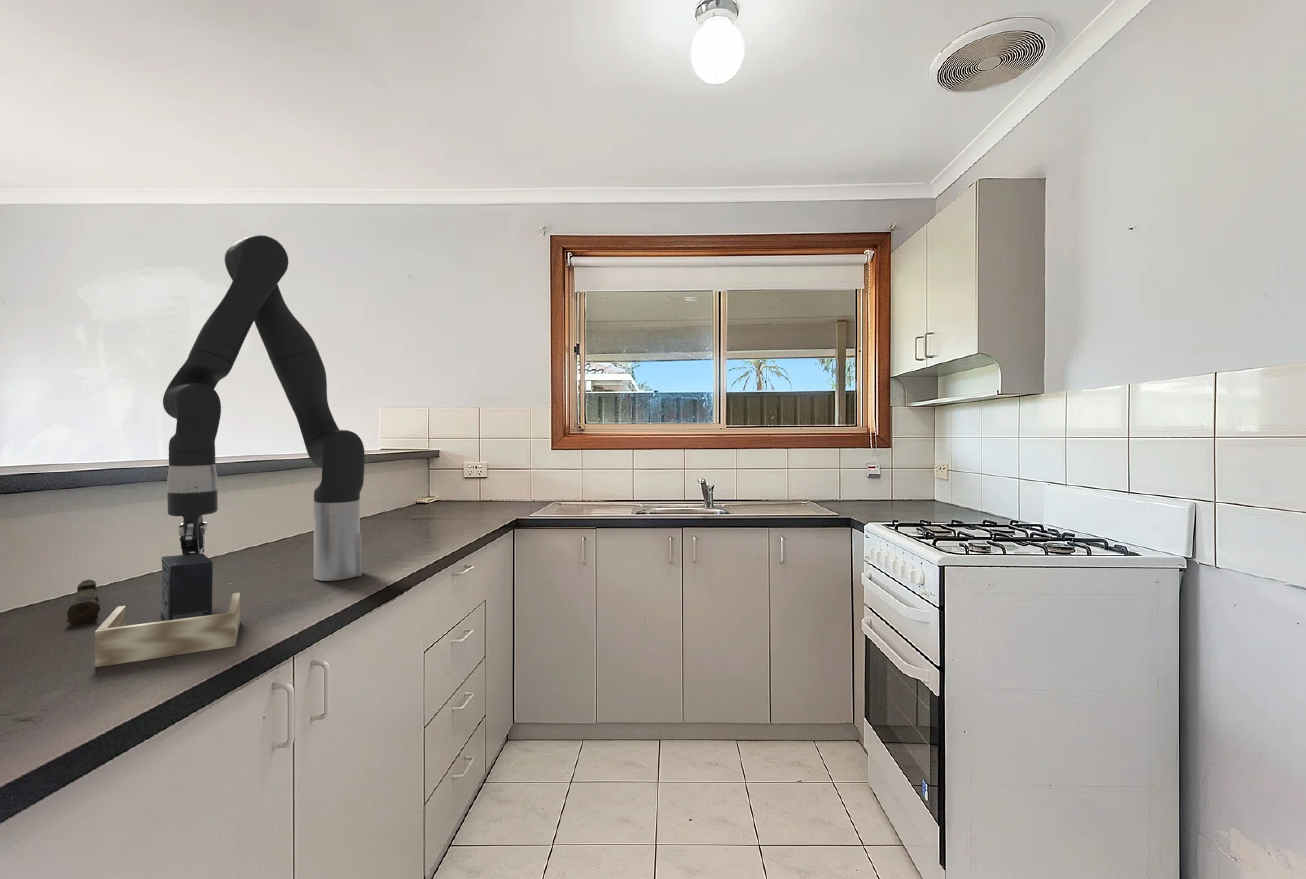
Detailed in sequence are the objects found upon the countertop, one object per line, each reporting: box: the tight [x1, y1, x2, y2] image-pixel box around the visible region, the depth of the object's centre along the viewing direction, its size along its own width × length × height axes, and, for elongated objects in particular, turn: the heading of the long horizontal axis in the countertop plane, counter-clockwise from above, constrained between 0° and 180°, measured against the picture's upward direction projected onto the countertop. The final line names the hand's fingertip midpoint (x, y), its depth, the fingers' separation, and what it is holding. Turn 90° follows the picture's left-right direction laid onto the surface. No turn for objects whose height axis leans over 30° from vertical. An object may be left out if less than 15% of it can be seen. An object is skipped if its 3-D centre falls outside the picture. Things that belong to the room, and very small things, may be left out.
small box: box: [160, 553, 214, 621], centre depth 106 cm, size 11×6×10 cm, turn 45°
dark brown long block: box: [66, 579, 101, 626], centre depth 109 cm, size 19×4×5 cm, turn 39°
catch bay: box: [94, 592, 241, 668], centre depth 93 cm, size 16×14×5 cm
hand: (194, 579), depth 114 cm, fingers closed
